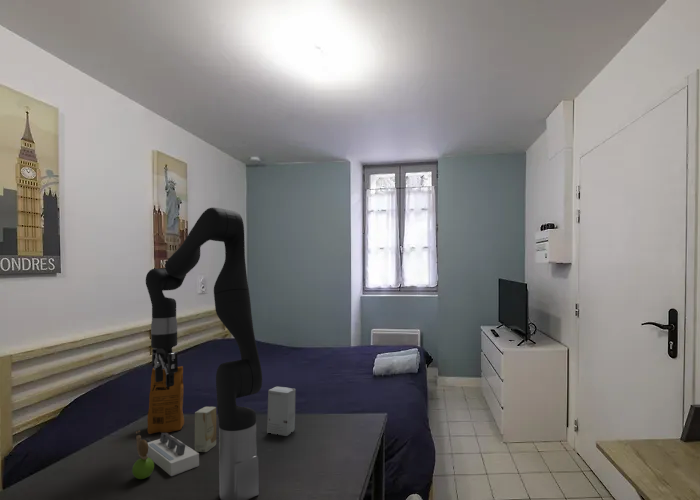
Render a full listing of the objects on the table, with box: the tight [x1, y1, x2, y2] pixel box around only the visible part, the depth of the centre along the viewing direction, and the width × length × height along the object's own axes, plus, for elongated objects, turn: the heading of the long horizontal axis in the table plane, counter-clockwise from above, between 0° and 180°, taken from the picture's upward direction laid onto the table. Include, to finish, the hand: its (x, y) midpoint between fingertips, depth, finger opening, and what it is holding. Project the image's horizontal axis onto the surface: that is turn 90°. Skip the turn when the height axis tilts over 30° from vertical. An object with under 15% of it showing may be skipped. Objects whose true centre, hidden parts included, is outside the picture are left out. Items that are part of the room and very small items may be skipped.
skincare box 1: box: [194, 406, 217, 453], centre depth 130 cm, size 6×4×12 cm
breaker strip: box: [144, 435, 200, 477], centre depth 126 cm, size 31×8×4 cm, turn 46°
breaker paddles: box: [159, 432, 186, 454], centre depth 122 cm, size 14×2×2 cm, turn 46°
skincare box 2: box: [266, 386, 297, 437], centre depth 142 cm, size 8×6×15 cm
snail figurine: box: [131, 429, 155, 480], centre depth 112 cm, size 5×6×12 cm
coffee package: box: [147, 365, 185, 435], centre depth 148 cm, size 10×12×22 cm
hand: (164, 383), depth 127 cm, fingers open, 8 cm apart
